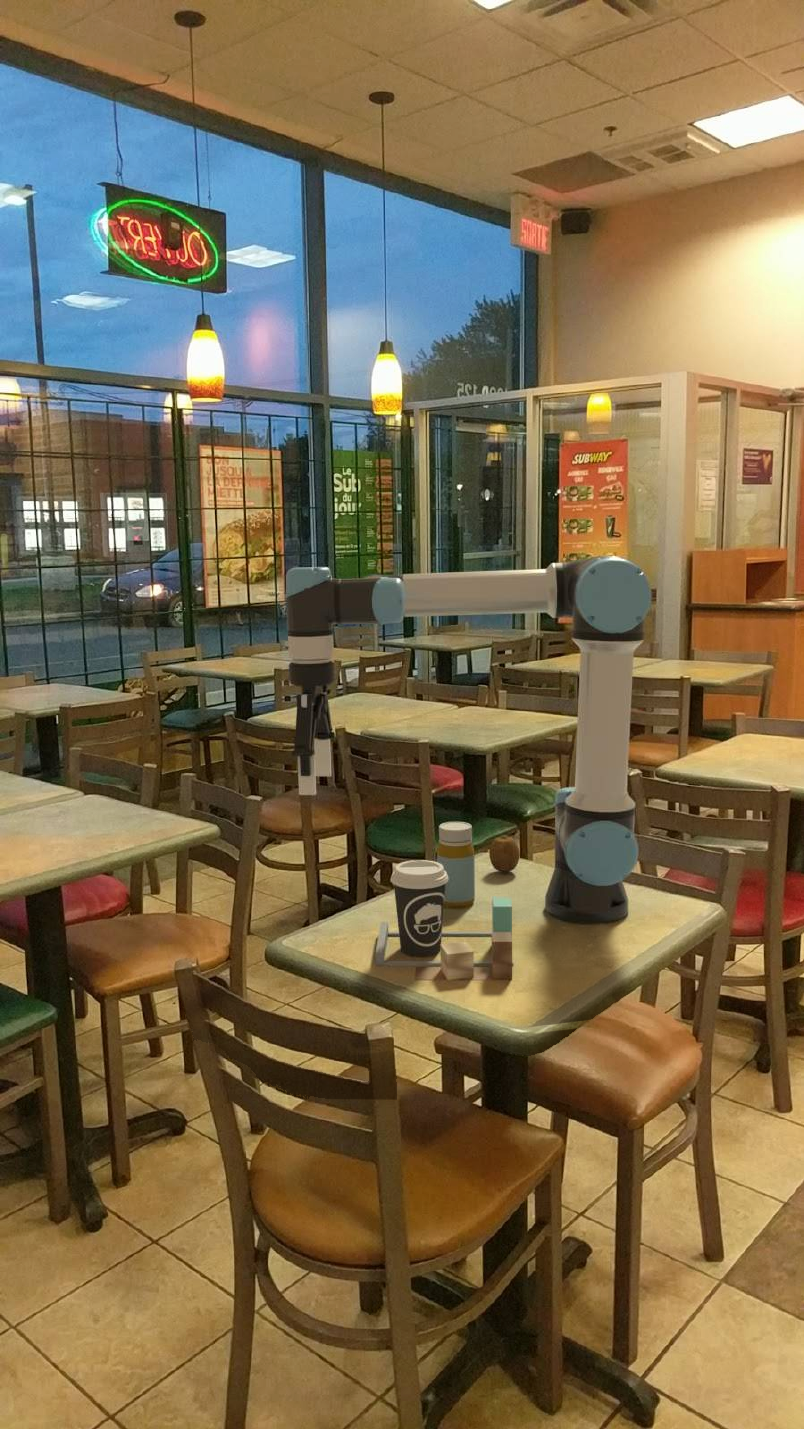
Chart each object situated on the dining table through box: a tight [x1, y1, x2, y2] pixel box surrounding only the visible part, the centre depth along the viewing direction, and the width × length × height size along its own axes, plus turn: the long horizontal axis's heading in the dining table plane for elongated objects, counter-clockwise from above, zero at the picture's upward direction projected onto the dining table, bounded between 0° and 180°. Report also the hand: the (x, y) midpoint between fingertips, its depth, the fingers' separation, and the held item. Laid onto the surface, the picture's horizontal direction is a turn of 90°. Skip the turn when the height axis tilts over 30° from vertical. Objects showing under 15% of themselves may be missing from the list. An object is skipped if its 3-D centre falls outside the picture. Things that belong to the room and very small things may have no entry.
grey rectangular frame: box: [375, 896, 514, 967], centre depth 174 cm, size 22×14×9 cm, turn 87°
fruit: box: [488, 834, 521, 874], centre depth 216 cm, size 6×6×8 cm
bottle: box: [436, 821, 476, 909], centre depth 198 cm, size 7×7×15 cm
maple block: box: [440, 941, 475, 981], centre depth 165 cm, size 4×4×4 cm
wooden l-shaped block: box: [414, 931, 513, 981], centre depth 165 cm, size 15×5×7 cm, turn 87°
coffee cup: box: [390, 859, 449, 958], centre depth 174 cm, size 10×10×15 cm
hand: (315, 785), depth 179 cm, fingers open, 13 cm apart
